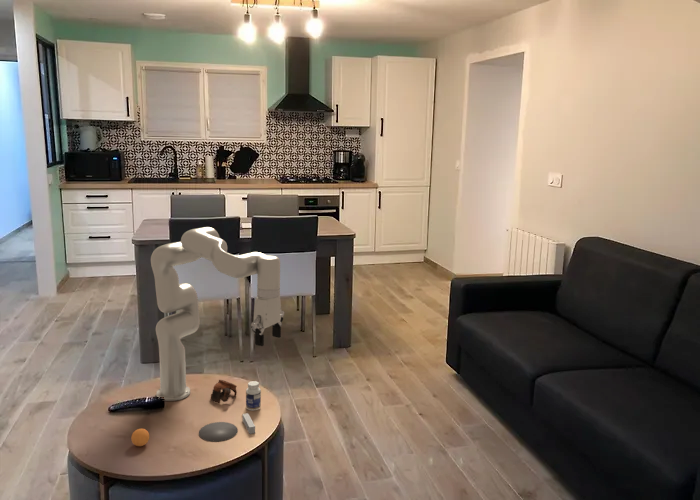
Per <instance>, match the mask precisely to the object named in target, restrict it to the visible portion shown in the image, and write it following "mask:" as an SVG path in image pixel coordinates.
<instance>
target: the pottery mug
mask: <svg viewBox="0 0 700 500" xmlns="http://www.w3.org/2000/svg"><path fill="white" fill-rule="evenodd" d="M237 391H238V390H237V385H236V384H234V383H232V382H229V381H226V380H223V379H218V382H216V383H215V384H214V386H213V389H212V393H211V394H210V401H212V402H214V403H216V404H220V403H221V401H222V402H224V403H225V402H228V400H229V398H230V395H231V392H233V393H234V394H233V397H237V395H238V394H237V393H238V392H237Z"/></svg>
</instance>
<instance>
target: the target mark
mask: <svg viewBox="0 0 700 500" xmlns="http://www.w3.org/2000/svg"><path fill="white" fill-rule="evenodd" d="M238 431H239V429H238V427H237V426H236V425H235V424H233V423H230V422H227V421H216V422H215V421H214V422H211V423H208V424H205V425H203V426H202V427H200V429H199V430H198V436H199V437H200V439H202V440H204V441H207V442H211V443H213V442H214V443H217V442H218V443H219V442H220V443H221V442H225V441H227V440H230V439H232V438H234V437H235V436H236V435H237V434H238Z"/></svg>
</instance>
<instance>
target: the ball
mask: <svg viewBox="0 0 700 500" xmlns="http://www.w3.org/2000/svg"><path fill="white" fill-rule="evenodd" d="M130 440H131V443H132V444H133V445H134V446H136V447H143V446H145V445H146V444H148V442H149V440H150V433H149V431H148V430H146V429H145V428H143V427H142V428H137V429H135V430H134V431H133V432H132V434H131V439H130Z"/></svg>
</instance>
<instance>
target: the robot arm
mask: <svg viewBox="0 0 700 500" xmlns="http://www.w3.org/2000/svg"><path fill="white" fill-rule="evenodd" d="M201 258H203V259H205V260H208V261H210V262H212V265H213V267H214V268H215V270H216V271H219V272H220V273H221V274H224V275H226V276H229V277H230V278H235V279H244V278H247V277H249V276H254V275H257V277H256V278H257V283H256V284H257V285H256V287H257V288H256V289H257V290H256V291H257V292H256V293H257V294H256V295H257V297H256V299H255V302H254V307H253V308H254V309H253V321H251V324H250V327H251V330H252V332H253V334H254V345H255V346H258V347H264V346H265V345H264V344H265V335H264V334H263V333H264V331H265V329H266V328H270V327H272V331H271V334H272V337H274V338H277V339H278V338H281V335H282V331H281V330H282V325H283V323H282V322H283V320H284V316H285V311H284V310H282V303H281V302H282V301H281V294H280V293H281V259H280V258H279V257H278V256H275V255H268V254H265V253H262V252H261V251H260V252H258V251H252V252H247V253H243V254H242V253H241V254H239V255H234V254H232V253H229V252H228V245H227V242H226V241H225V240H224V239H222V238H221V236H220V234H219V233H218V231H217V230H216V229H215V228H213V227H210V226H203V227H197V228H192V229H189V230H187V231H185V232H184V233H183V234H182V236H181V238H180V241H174V242H169V243H166V244H163V245H159V246H158V247H156V248H155V249H154V250H153V252H152V254H151V256H150V264H151V265H150V266H151V269H152V273H153V276H154V284H155V285H154V287H155V293H156V304H157V307H158V308H157V309H159V311H160V312H162V313H164V314H170V313H171V314H170V315H167V316H165V317H163V318H161V319H159V321H158V322H157V323H156V326H155V334H156V338H157V342H158V353H159V354H158V355H159V356H158V357H159V382H160V383H159V384H160V386H159V387H160V388H159V389H157V390H156V392H155V393H156V398H157V397H164V399H165V400H164V401H165V402H175V401H180V400H183V399H185V398H187V397H188V396H190V395H191V387H189V386H187V375H186V374H187V373H186V372H187V371H186V370H187V369H186V368H187V367H186V366H187V365H186V348H185V346H184V344H183V342H182V341H181V339H183V338H184V337H186V336H190V335H192V334H194V333H196V332H197V331H198V329H199V327H200V323H201V320H200V309H199V307H200V306H199V299H198V293H197V290H196V289H195V288H194V286H193V285H192V284H190V283H188V282H187V283H186V282H182V283H180V279H179V274H178V273H177V272H178V271H176V269H175V266H176V267H177V266H180V265H185V264H189V263H193V262H196V261H197V260H199V259H201ZM177 311H178V312H177ZM173 312H174V313H173ZM175 312H176V313H175ZM172 313H173V314H172Z"/></svg>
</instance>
